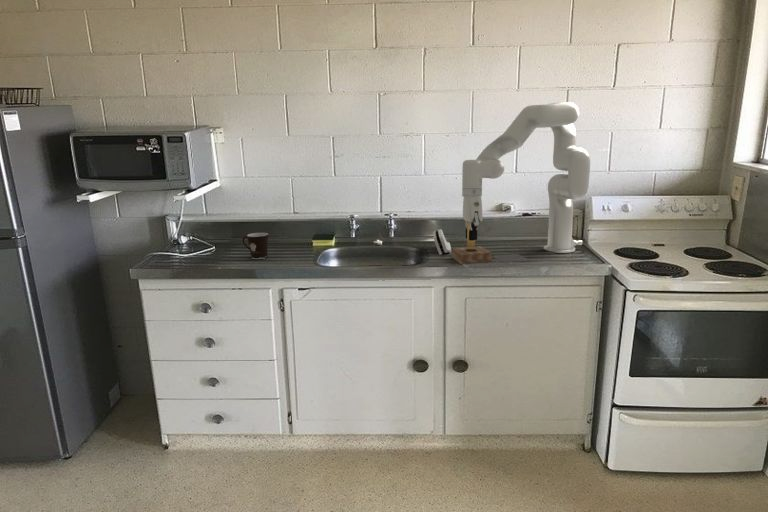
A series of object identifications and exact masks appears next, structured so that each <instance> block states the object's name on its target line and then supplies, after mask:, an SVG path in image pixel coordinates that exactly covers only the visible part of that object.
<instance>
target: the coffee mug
mask: <svg viewBox="0 0 768 512" xmlns="http://www.w3.org/2000/svg"><path fill="white" fill-rule="evenodd" d="M245 239H247V243H248V245H247V244H246V243H245ZM242 243H243V245H244V246H245V247H246V248H247V249H248V250H249V253H250V258H251V257H254V258H259V257H265V256H267V257H268V250H269V249H268V247H269V244H268V243H269V233H267V232H254V233H253V232H252V233H249V234H247V235H246V236H244V237H243V238H242Z"/></svg>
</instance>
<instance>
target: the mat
mask: <svg viewBox="0 0 768 512" xmlns="http://www.w3.org/2000/svg"><path fill="white" fill-rule="evenodd" d="M492 257H493V258H495V259H496V260H498V261H500V262H502V263H509V262H520V261H521V262H523V261H529V259H528V258H526V257H524V256H523V255H520V254H518V253H514V254H513V253H512V254H509V253H508V254H497V255H495V254H494V255H492Z"/></svg>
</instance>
